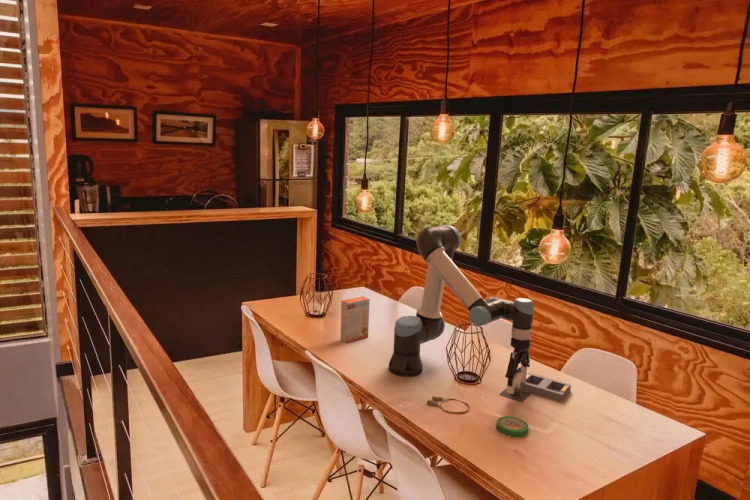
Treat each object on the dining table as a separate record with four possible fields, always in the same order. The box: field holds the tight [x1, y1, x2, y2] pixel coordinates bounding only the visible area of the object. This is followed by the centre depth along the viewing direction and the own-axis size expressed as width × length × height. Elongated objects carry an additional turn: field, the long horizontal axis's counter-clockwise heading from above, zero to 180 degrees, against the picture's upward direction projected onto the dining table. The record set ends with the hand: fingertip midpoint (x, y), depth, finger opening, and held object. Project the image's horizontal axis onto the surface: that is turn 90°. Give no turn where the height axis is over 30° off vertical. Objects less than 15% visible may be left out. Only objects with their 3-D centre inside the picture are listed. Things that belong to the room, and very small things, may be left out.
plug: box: [510, 366, 523, 397], centre depth 224 cm, size 4×4×11 cm
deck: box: [498, 387, 532, 403], centre depth 225 cm, size 10×10×1 cm
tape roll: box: [495, 415, 529, 438], centre depth 199 cm, size 11×11×3 cm
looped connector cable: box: [426, 395, 470, 415], centre depth 215 cm, size 12×16×2 cm
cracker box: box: [340, 296, 370, 344], centre depth 278 cm, size 14×6×21 cm, turn 130°
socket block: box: [521, 372, 572, 403], centre depth 230 cm, size 12×18×4 cm, turn 55°
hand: (516, 387), depth 224 cm, fingers open, 13 cm apart
